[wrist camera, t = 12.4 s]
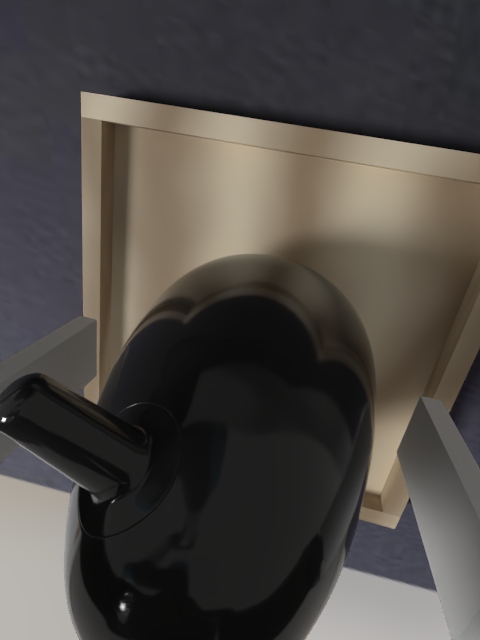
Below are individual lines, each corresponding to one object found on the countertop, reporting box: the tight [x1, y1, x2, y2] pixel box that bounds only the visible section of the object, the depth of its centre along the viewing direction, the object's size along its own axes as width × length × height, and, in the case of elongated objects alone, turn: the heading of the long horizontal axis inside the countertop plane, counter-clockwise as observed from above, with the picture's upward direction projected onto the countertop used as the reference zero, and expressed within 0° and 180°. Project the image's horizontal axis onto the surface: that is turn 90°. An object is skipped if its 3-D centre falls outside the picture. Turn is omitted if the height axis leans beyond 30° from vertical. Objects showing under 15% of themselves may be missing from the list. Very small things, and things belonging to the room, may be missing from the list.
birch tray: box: [81, 92, 480, 529], centre depth 20 cm, size 20×20×2 cm
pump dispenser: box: [0, 254, 376, 640], centre depth 13 cm, size 10×10×15 cm
